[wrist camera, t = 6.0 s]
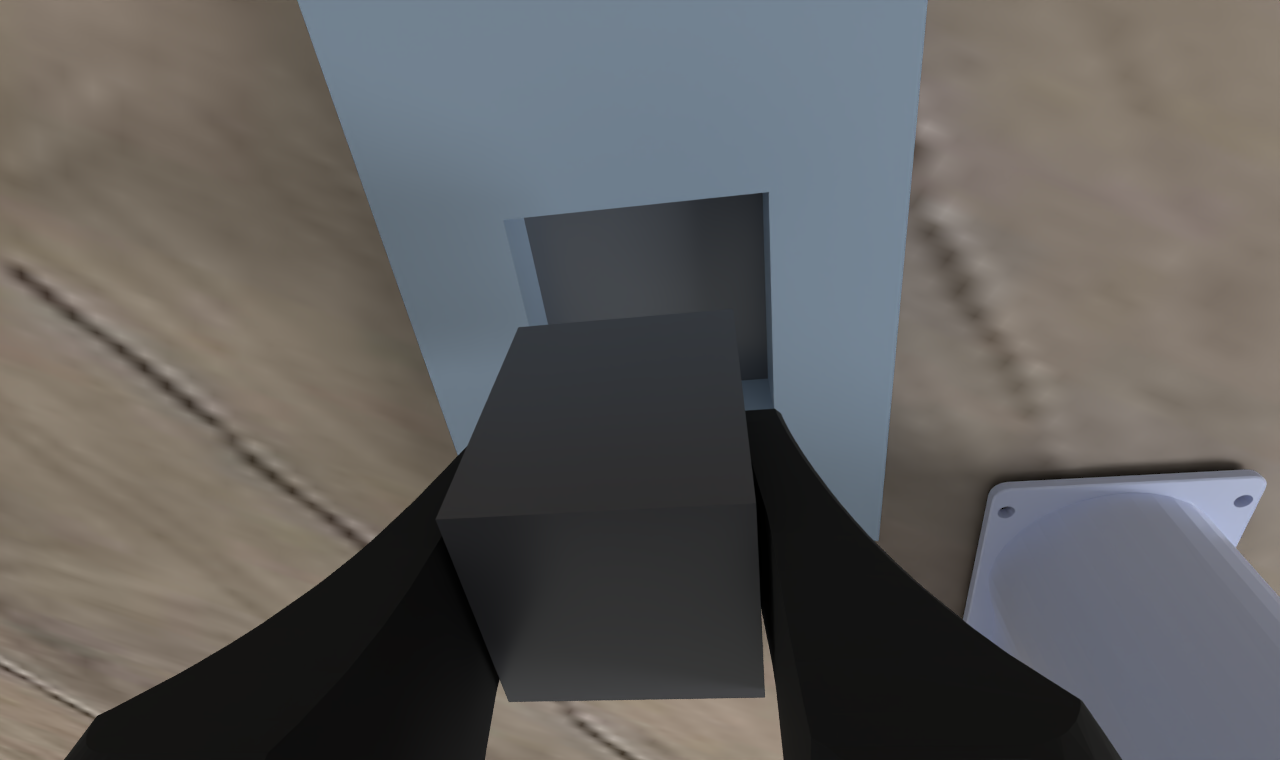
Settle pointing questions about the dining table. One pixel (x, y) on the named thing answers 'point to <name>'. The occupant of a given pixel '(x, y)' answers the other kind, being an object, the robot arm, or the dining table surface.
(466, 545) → the plug
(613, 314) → the pale blue socket slab
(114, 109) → the dining table surface
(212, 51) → the dining table surface
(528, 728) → the dining table surface
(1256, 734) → the robot arm
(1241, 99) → the dining table surface
